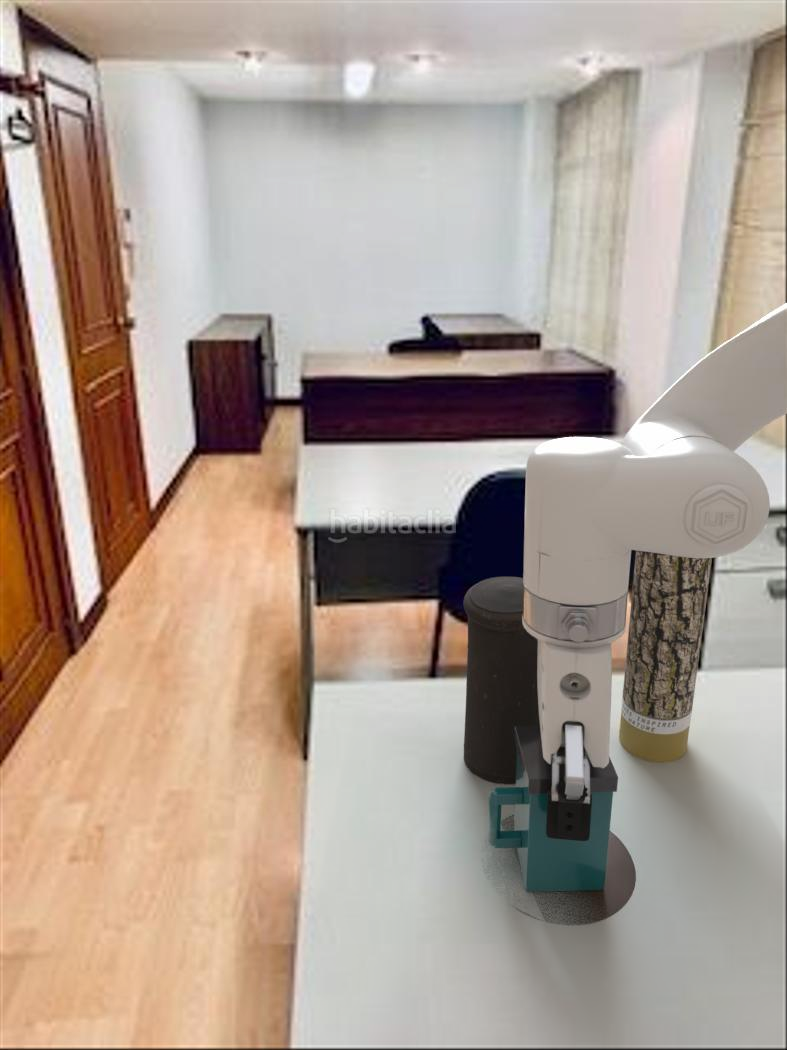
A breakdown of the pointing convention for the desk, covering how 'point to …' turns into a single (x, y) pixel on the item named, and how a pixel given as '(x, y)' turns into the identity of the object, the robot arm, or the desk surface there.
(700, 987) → the desk surface
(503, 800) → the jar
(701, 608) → the paper tube
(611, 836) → the turntable
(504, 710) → the container
